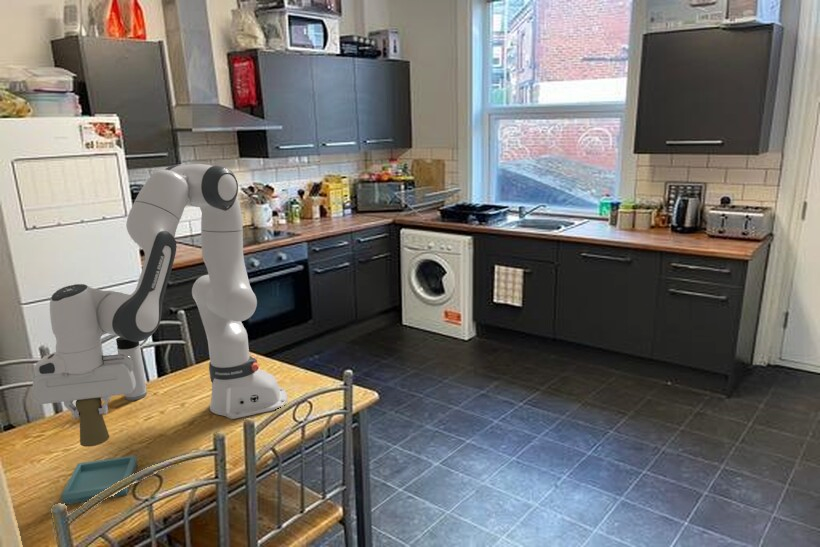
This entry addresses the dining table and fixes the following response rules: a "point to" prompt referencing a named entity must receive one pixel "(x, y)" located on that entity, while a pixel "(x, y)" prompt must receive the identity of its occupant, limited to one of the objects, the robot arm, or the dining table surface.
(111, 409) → the dining table surface
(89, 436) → the brown tapered cylinder
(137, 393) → the travel mug
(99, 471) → the tray
